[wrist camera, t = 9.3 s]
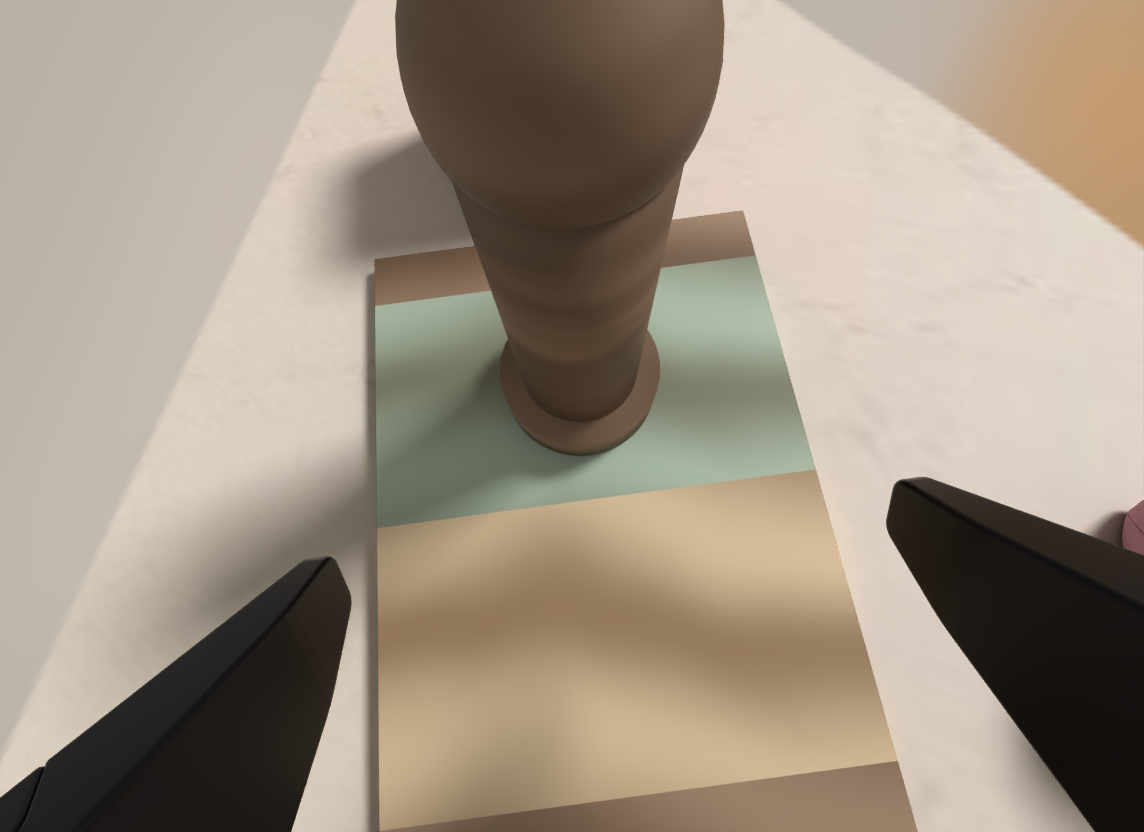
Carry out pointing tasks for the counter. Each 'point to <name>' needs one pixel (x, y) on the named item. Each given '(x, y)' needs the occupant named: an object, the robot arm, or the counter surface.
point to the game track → (614, 581)
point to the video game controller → (1134, 529)
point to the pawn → (566, 182)
